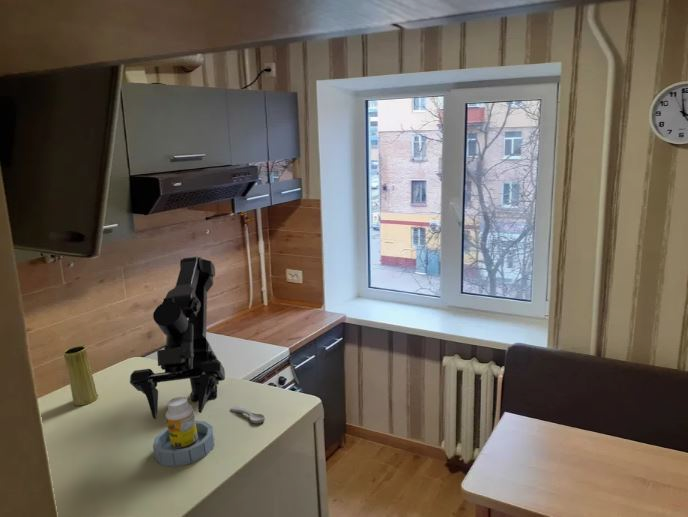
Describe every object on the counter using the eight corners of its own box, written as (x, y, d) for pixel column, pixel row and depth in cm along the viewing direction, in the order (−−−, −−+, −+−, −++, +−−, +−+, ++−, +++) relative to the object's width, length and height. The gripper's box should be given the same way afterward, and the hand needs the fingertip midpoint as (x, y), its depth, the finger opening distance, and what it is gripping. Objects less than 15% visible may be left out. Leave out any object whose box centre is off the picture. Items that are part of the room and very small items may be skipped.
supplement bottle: (167, 445, 111) (159, 401, 109) (192, 434, 115) (184, 391, 112) (177, 455, 107) (169, 410, 105) (203, 444, 110) (195, 400, 108)
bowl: (159, 439, 115) (157, 427, 115) (215, 428, 118) (212, 416, 117) (152, 471, 104) (149, 458, 103) (213, 458, 106) (211, 445, 106)
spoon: (258, 427, 117) (256, 419, 116) (228, 415, 125) (226, 407, 125) (268, 421, 119) (267, 413, 118) (238, 410, 127) (237, 402, 127)
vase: (103, 394, 140) (92, 344, 137) (88, 406, 134) (77, 354, 131) (83, 394, 141) (71, 345, 138) (67, 405, 136) (55, 354, 132)
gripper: (123, 335, 108) (116, 410, 100) (214, 324, 110) (214, 397, 101) (141, 355, 118) (136, 425, 109) (224, 345, 119) (225, 413, 111)
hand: (177, 415), depth 107 cm, fingers open, 9 cm apart
